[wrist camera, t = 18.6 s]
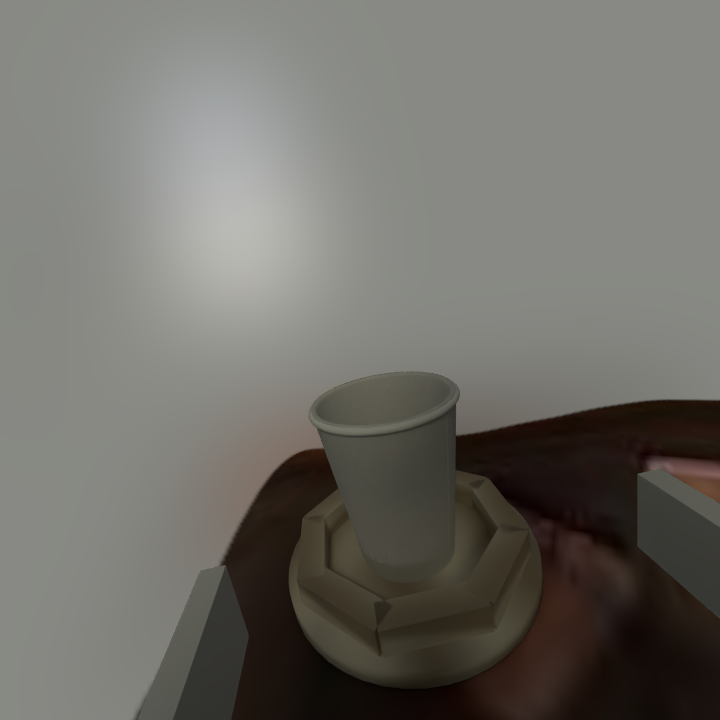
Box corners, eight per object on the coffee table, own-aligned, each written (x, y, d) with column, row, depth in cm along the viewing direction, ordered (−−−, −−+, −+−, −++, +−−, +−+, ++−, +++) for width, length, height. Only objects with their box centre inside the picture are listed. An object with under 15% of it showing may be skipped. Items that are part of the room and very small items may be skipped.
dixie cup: (392, 490, 29) (370, 368, 26) (500, 525, 23) (484, 374, 21) (314, 564, 23) (276, 415, 20) (434, 634, 17) (402, 440, 15)
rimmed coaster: (477, 470, 31) (474, 443, 30) (612, 645, 16) (612, 600, 16) (300, 508, 30) (293, 481, 30) (277, 726, 16) (263, 682, 15)
